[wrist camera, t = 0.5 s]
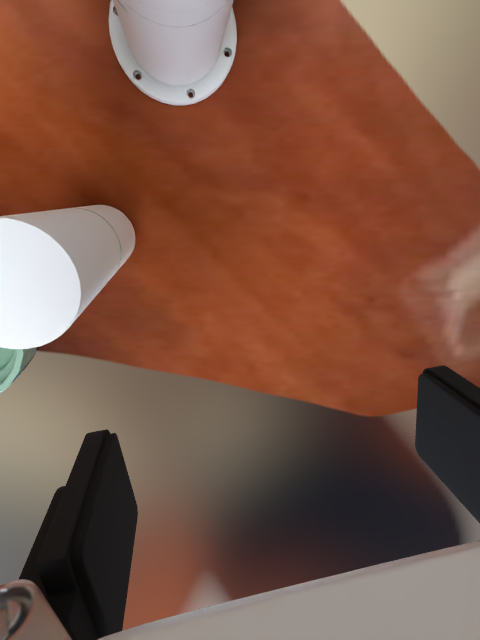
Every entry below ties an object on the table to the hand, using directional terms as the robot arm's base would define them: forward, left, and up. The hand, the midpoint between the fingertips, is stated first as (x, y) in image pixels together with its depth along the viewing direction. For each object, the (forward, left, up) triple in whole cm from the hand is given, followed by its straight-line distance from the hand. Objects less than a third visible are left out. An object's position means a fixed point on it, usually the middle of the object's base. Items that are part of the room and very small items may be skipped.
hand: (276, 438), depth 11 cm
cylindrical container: (-5, -11, -37) cm, 39 cm away
